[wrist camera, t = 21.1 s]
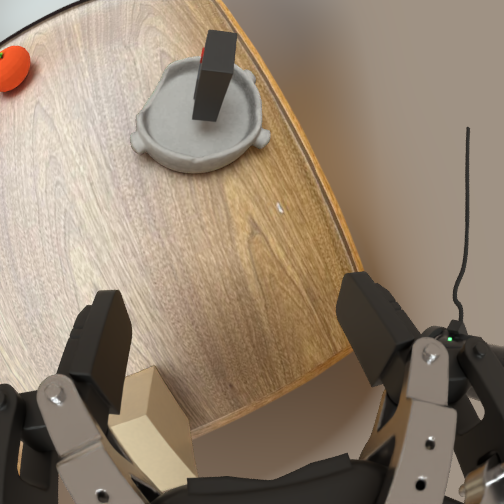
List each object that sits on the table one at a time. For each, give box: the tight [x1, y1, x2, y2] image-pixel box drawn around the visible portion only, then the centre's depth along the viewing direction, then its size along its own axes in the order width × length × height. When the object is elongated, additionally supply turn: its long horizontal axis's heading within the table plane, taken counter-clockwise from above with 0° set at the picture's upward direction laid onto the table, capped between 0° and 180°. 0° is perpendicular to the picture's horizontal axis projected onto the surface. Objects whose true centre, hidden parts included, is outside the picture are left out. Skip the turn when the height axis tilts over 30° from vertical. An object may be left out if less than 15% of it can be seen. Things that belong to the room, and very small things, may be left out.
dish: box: [130, 56, 270, 173], centre depth 27 cm, size 14×14×5 cm
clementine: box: [0, 46, 30, 92], centre depth 19 cm, size 8×7×7 cm
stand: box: [108, 366, 198, 491], centre depth 21 cm, size 8×8×11 cm
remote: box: [192, 30, 237, 122], centre depth 21 cm, size 2×5×8 cm, turn 178°
